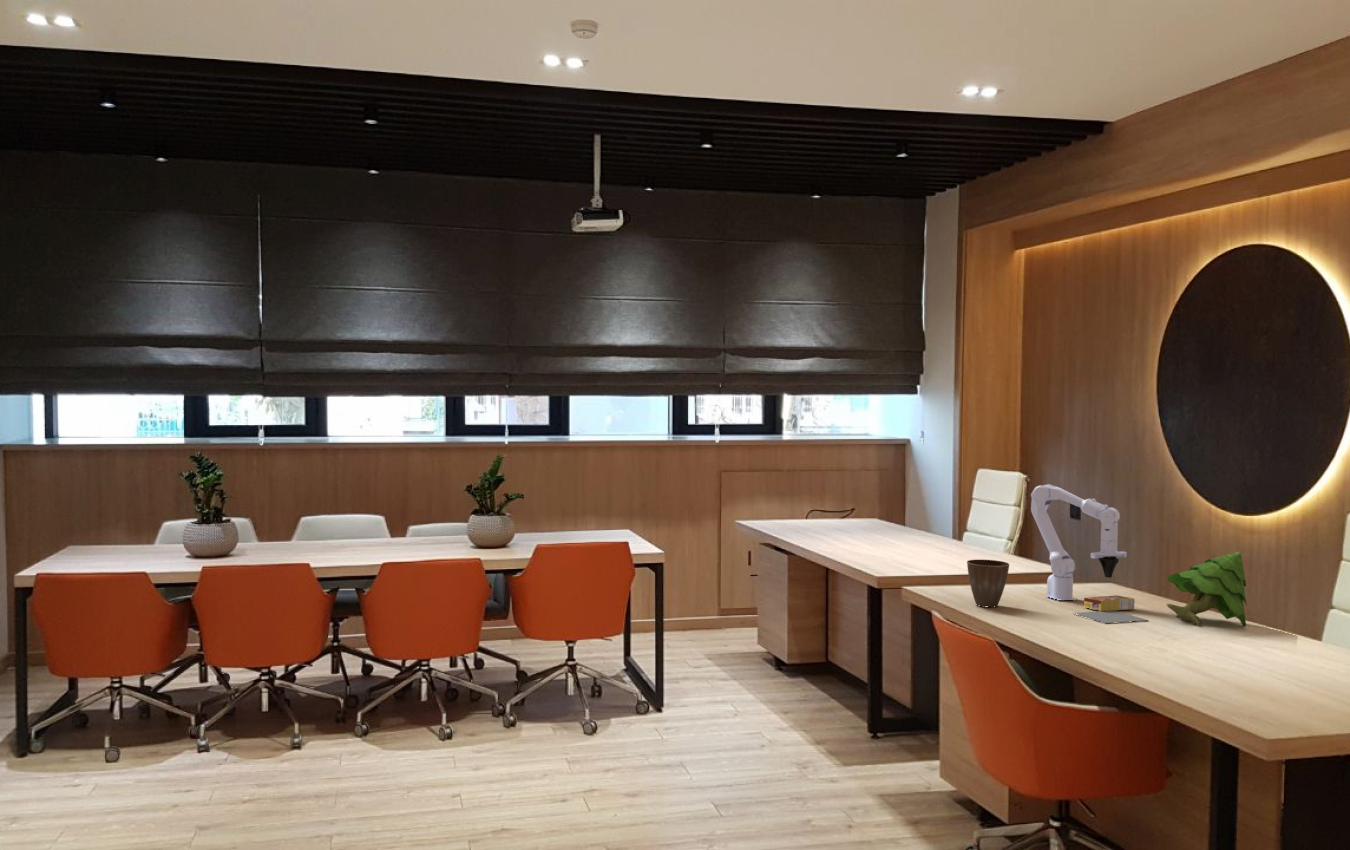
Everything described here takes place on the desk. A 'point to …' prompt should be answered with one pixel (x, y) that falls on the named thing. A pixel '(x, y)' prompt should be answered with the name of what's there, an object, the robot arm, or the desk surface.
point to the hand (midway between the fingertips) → (1108, 577)
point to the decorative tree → (1213, 588)
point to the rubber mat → (1110, 616)
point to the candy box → (1109, 603)
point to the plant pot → (987, 580)
